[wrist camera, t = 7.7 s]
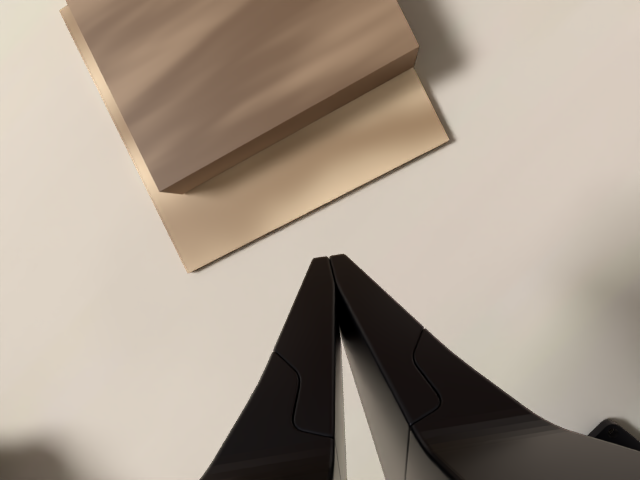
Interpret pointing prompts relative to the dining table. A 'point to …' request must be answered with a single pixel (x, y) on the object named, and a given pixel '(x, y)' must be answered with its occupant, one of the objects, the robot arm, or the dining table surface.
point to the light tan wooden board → (286, 165)
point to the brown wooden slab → (236, 72)
